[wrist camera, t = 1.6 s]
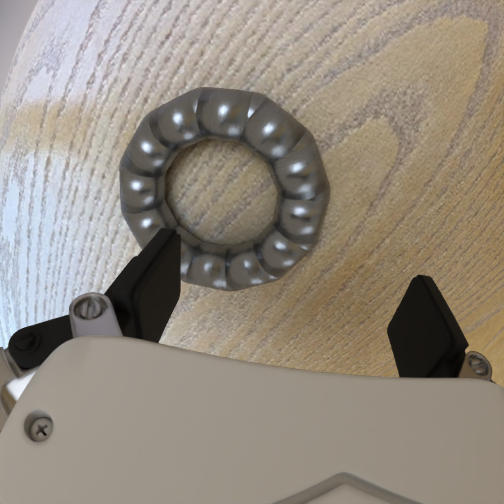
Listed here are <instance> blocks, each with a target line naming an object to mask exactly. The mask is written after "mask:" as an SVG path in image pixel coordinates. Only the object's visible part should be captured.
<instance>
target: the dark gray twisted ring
mask: <svg viewBox="0 0 504 504" xmlns="http://www.w3.org/2000/svg"><path fill="white" fill-rule="evenodd" d="M205 139H215V140H223V141H230V142H237V143H240V144H242V145H243V146H244V147H246V148H247V149H248V150H249V151H251V152H252V153H253V154H255V155H256V156H257V157H258V158H260V159H261V160H262V161H264V162H265V163H266V164H267V166H268V169H269V171H270V174H271V176H272V179H273V181H274V184H275V186H276V189H277V192H278V196H277V202H276V207H275V212H274V217H273V221H272V222H271V223H270V224H269V225H268V226H267V227H266V228H265V229H264V230H263V231H262V232H261V233H260V234H259V235H258V237H257V238H256V239H254V240H250V241H247V242H243V243H240V244H237V245H234V246H230V247H228V246H223V245H217V244H212V243H206V242H201V241H200V240H198V239H197V238H196V237H194V236H193V235H191V234H190V233H189V232H187V231H186V230H185V229H183V228H182V227H181V226H179V225H178V224H177V222H176V220H175V218H174V216H173V214H172V212H171V210H170V209H169V207H168V205H167V203H166V201H165V174H166V171H167V170H168V168H169V167H170V165H171V163H172V162H173V160H174V159H175V157H176V156H177V154H178V153H179V151H180V150H182V149H184V148H187V147H189V146H191V145H193V144H195V143H198V142H200V141H202V140H205ZM119 167H120V168H119V172H120V201H121V212H122V214H123V217H124V219H125V220H126V222H127V224H128V226H129V228H130V229H131V231H132V233H133V235H134V236H135V238H136V240H137V242H138V243H139V245H140V247H141V249H142V250H143V249H144V248H145V246H146V245H147V244H148V243H149V242H150V240H151V239H152V238H153V237H154V236H155V234H156V233H157V232H158V231H159V230H160V228H162V227H163V228H169V229H174V230H176V231H177V234H180V235H181V280H182V281H183V282H186V283H189V284H194V285H199V286H204V287H209V288H214V289H219V290H224V291H237V290H241V289H245V288H249V287H253V286H257V285H261V284H265V283H269V282H273V281H276V280H278V279H280V278H282V277H283V276H284V275H285V274H286V273H287V272H288V271H289V270H291V269H292V268H293V267H294V266H295V265H296V264H297V263H298V262H299V261H300V260H301V259H302V258H304V257H305V256H306V255H307V254H308V253H309V252H310V251H311V250H312V249H313V248H314V247H315V245H316V244H317V242H318V239H319V236H320V232H321V229H322V225H323V221H324V217H325V214H326V210H327V206H328V202H329V198H330V185H329V181H328V178H327V175H326V172H325V169H324V166H323V163H322V160H321V157H320V154H319V151H318V148H317V145H316V142H315V140H314V137H313V135H312V134H311V132H310V131H309V130H308V129H307V128H306V127H304V126H303V125H302V124H301V123H300V122H298V121H297V120H296V119H295V118H293V117H292V116H291V115H290V114H288V113H287V112H286V111H285V110H283V109H282V108H281V107H280V106H278V105H277V104H276V103H275V102H273V101H272V100H271V99H269V98H268V97H266V96H265V95H263V94H260V93H257V92H250V91H242V90H233V89H223V88H212V87H200V88H196V89H193V90H191V91H189V92H187V93H185V94H183V95H181V96H179V97H177V98H175V99H173V100H171V101H169V102H167V103H165V104H163V105H162V106H160V107H158V108H156V109H154V110H152V111H151V112H149V113H148V114H147V115H146V116H145V117H144V119H143V120H142V122H141V123H140V125H139V127H138V129H137V130H136V132H135V134H134V136H133V137H132V139H131V141H130V143H129V145H128V147H127V148H126V150H125V152H124V154H123V156H122V158H121V161H120V166H119Z"/></svg>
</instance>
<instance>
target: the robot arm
mask: <svg viewBox="0 0 504 504" xmlns="http://www.w3.org/2000/svg"><path fill="white" fill-rule="evenodd" d="M180 291H181V235H180V234H177V231H176V230H174V229H169V228H163V227H162V228H160V230H159V231H158V232H157V233H156V234H155V236H154V237H153V238H152V239H151V240H150V242H149V243H148V244H147V245H146V246H145V248H144V249H143V250H142V251H141V252H140V254H139V255H138V256H135V257H133V258H132V259H131V261H130V262H129V263H128V264H127V266H126V267H125V268H124V269H123V271H122V272H121V273H120V274H119V276H118V277H117V278H116V279H115V281H114V282H113V283H112V284H111V286H110V287H109V288H108V290H107V291H106V292H105V294H101V293H95V292H91V293H85V294H82V295H80V296H78V297H77V298H75V299H74V300H73V301H72V302H71V304H70V307H69V315H65V316H62V317H59V318H55V319H52V320H48V321H45V322H42V323H38V324H35V325H31V326H28V327H24V328H22V329H20V330H18V331H17V332H15V333H14V334H13V335H12V337H11V338H10V341H9V343H8V348H6V349H5V350H4V349H3V347H0V504H504V388H503V387H502V386H500V385H498V384H496V383H495V382H493V381H492V380H491V376H492V367H491V365H490V363H489V361H488V360H487V358H486V357H485V356H483V355H482V354H481V353H479V352H476V351H470V352H468V353H467V354H466V353H465V349H466V348H467V347H468V345H469V344H468V342H467V340H466V338H465V336H464V334H463V332H462V330H461V329H460V327H459V325H458V323H457V321H456V319H455V317H454V315H453V314H452V312H451V310H450V308H449V306H448V305H447V303H446V301H445V299H444V298H443V296H442V294H441V292H440V291H439V289H438V287H437V286H436V284H435V282H434V281H433V279H432V278H431V277H430V276H425V275H417V276H416V277H414V278H413V279H412V280H411V282H410V285H409V287H408V289H407V291H406V293H405V295H404V297H403V299H402V301H401V303H400V305H399V306H398V308H397V310H396V312H395V314H394V316H393V318H392V320H391V321H390V323H389V325H388V328H387V334H388V337H389V341H390V344H391V347H392V351H393V354H394V358H395V362H396V365H397V369H398V373H399V377H382V376H365V375H352V374H340V373H329V372H320V371H311V370H303V369H295V368H287V367H280V366H273V365H267V364H260V363H254V362H248V361H242V360H237V359H231V358H226V357H221V356H216V355H211V354H206V353H201V352H196V351H192V350H187V349H183V348H179V347H174V346H169V345H164V344H160V343H158V342H159V340H160V338H161V336H162V333H163V331H164V329H165V327H166V325H167V323H168V321H169V319H170V316H171V314H172V312H173V310H174V308H175V306H176V304H177V302H178V300H179V297H180Z"/></svg>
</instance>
